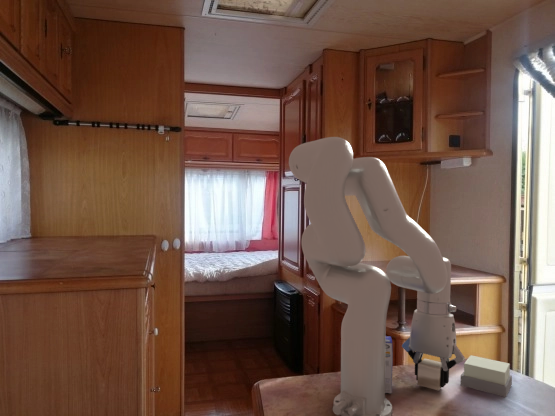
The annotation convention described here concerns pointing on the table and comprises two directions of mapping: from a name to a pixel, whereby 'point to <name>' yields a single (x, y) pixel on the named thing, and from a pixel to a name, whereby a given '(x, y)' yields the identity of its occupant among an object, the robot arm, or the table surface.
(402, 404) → the table surface
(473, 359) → the tower top block
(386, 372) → the ink cartridge box
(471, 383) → the tower base block
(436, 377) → the birch cube
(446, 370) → the robot arm
